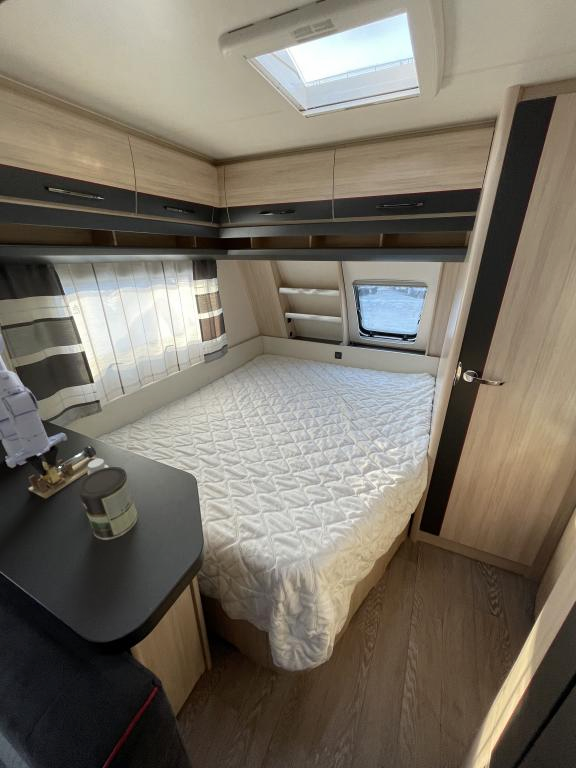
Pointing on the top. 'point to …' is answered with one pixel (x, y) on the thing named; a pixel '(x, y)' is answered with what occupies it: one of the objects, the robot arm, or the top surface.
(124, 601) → the top surface
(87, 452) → the shaft
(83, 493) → the coffee can
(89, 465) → the supplement bottle
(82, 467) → the bearing bed
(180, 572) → the top surface
